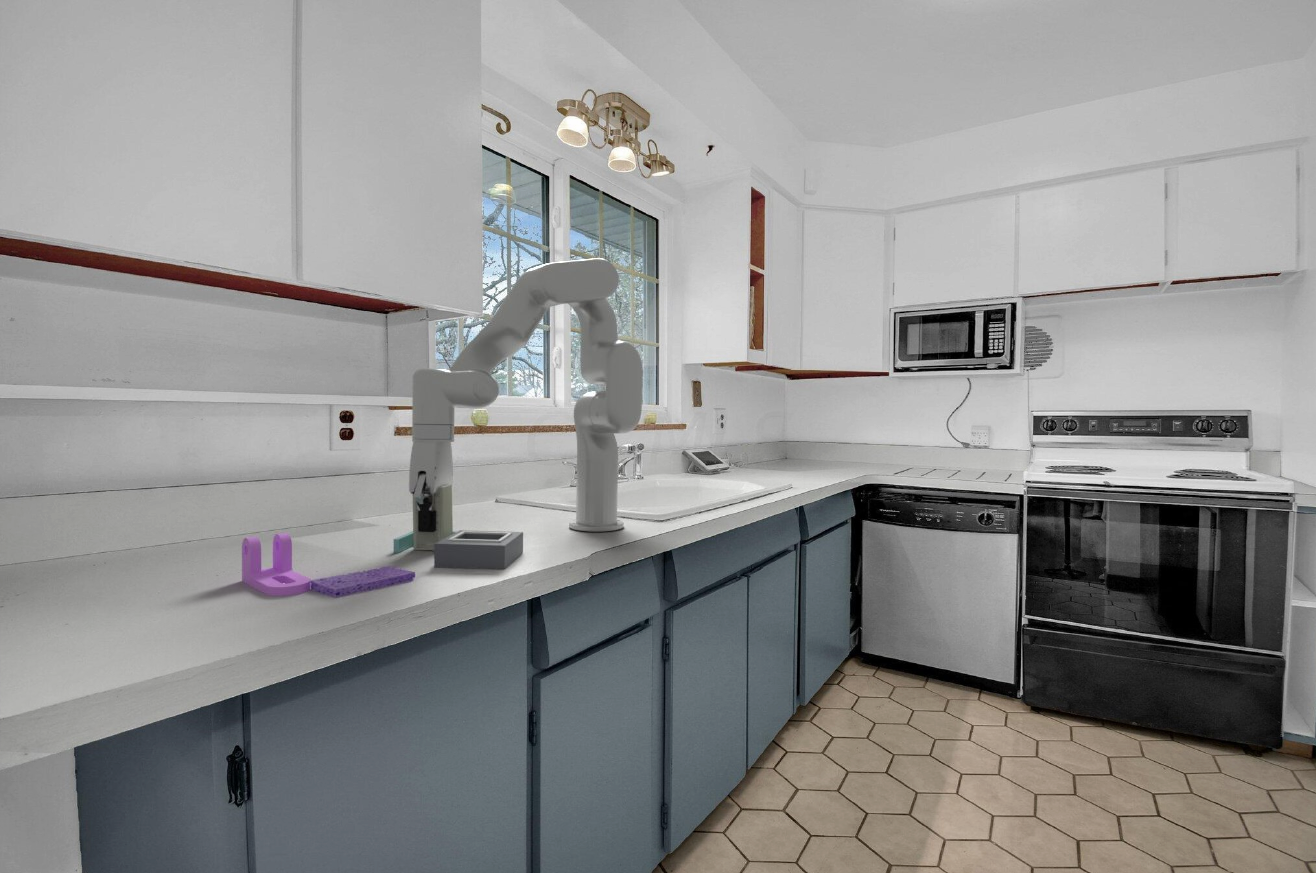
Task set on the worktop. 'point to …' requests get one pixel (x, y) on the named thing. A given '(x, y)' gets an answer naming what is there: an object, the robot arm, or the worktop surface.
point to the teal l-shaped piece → (405, 542)
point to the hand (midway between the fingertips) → (432, 528)
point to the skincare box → (442, 520)
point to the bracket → (276, 576)
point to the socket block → (478, 549)
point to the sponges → (361, 581)
